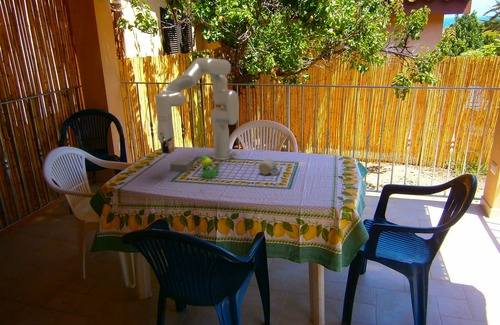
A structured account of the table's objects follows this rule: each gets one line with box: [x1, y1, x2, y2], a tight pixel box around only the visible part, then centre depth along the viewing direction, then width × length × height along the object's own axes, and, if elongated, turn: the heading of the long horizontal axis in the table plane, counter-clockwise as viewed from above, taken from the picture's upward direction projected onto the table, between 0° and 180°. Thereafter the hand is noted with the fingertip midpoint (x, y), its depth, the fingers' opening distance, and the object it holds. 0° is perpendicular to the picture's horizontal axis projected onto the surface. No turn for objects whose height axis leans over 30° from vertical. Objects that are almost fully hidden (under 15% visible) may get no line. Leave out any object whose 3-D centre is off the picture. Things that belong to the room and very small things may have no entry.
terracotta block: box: [160, 139, 175, 155], centre depth 199 cm, size 5×5×6 cm
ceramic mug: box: [258, 157, 280, 176], centre depth 207 cm, size 11×8×8 cm
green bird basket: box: [200, 155, 221, 179], centre depth 206 cm, size 11×9×11 cm
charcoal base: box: [169, 158, 194, 173], centre depth 219 cm, size 10×10×4 cm
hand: (168, 151), depth 200 cm, fingers closed on terracotta block, 5 cm apart
